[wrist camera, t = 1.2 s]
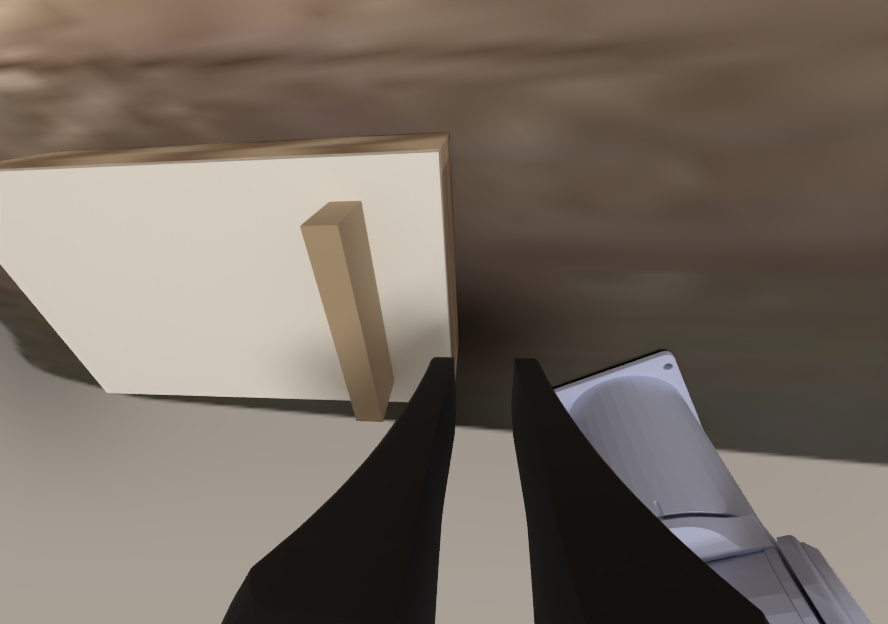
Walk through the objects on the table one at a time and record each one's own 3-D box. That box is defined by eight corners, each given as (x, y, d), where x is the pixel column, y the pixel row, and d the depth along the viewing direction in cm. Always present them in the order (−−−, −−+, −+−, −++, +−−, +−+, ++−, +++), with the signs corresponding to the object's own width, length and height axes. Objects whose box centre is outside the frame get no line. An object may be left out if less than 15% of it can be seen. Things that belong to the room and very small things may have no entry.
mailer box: (449, 132, 16) (440, 149, 12) (458, 342, 22) (454, 394, 19) (55, 151, 18) (-55, 171, 14) (170, 339, 24) (115, 385, 21)
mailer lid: (439, 149, 12) (429, 168, 9) (453, 396, 19) (449, 445, 16) (-58, 171, 14) (-174, 192, 12) (114, 386, 21) (64, 429, 18)
